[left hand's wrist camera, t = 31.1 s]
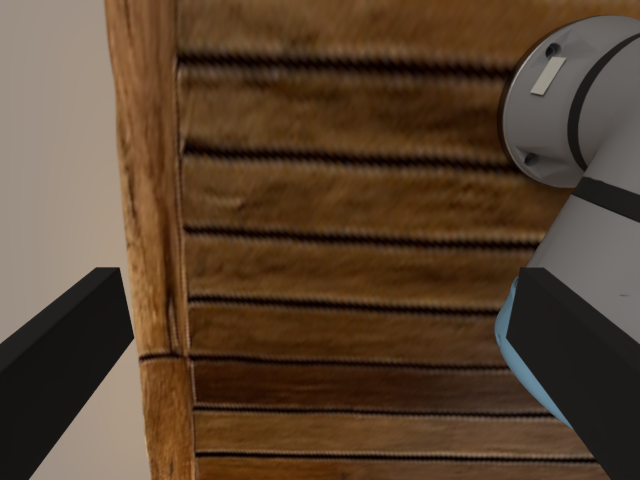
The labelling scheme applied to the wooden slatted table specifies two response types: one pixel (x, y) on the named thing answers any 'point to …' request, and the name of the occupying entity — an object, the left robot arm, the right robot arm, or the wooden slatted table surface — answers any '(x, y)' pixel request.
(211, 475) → the wooden slatted table surface
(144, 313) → the wooden slatted table surface
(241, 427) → the wooden slatted table surface
